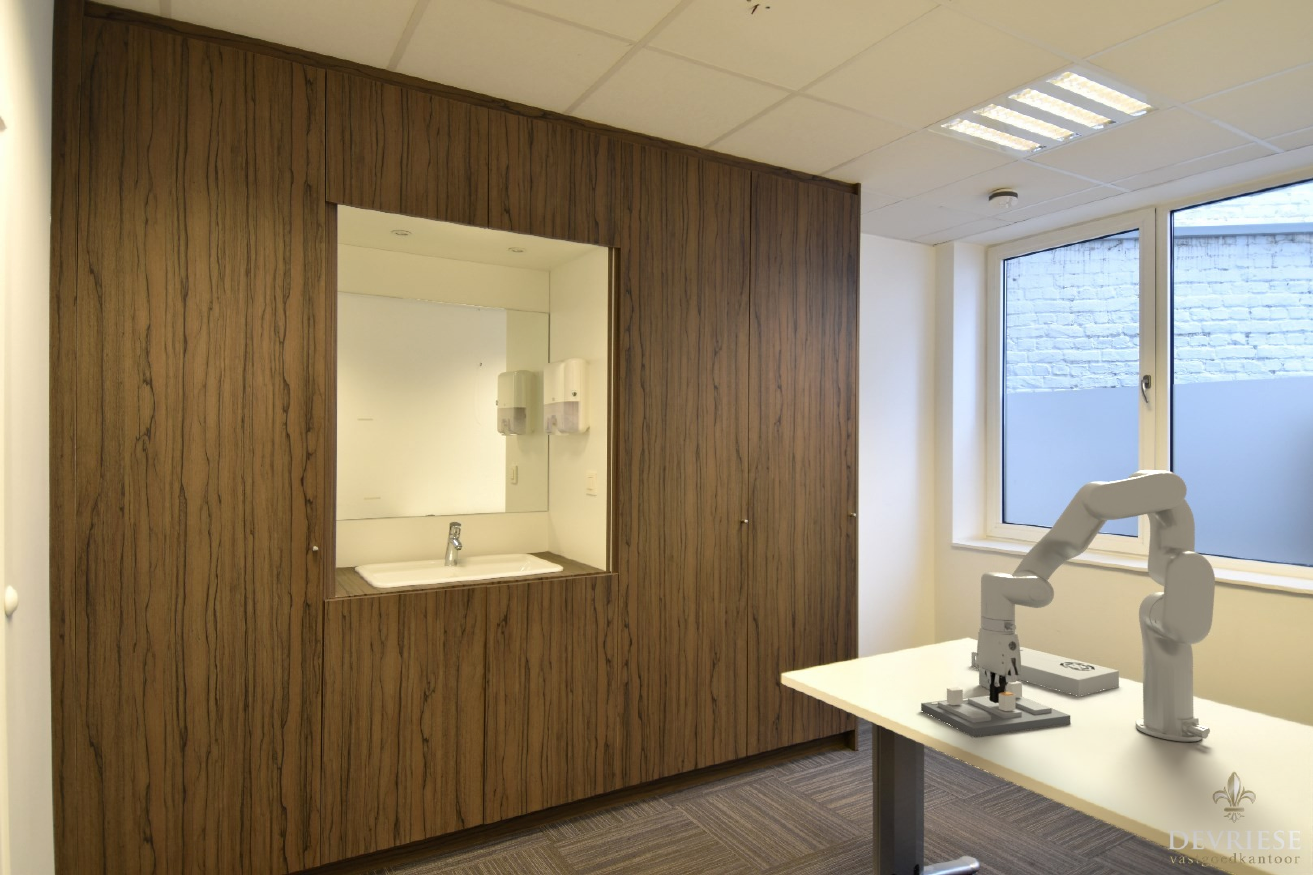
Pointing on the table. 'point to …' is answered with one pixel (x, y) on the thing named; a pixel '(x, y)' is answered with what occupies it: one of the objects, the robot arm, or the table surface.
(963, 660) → the table surface
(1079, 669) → the power supply unit
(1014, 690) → the block
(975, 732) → the breaker panel
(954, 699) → the breaker
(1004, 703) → the block
